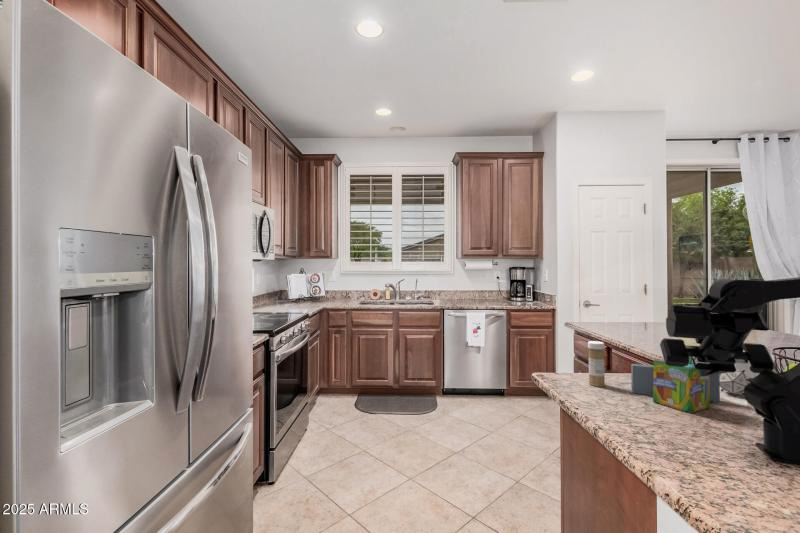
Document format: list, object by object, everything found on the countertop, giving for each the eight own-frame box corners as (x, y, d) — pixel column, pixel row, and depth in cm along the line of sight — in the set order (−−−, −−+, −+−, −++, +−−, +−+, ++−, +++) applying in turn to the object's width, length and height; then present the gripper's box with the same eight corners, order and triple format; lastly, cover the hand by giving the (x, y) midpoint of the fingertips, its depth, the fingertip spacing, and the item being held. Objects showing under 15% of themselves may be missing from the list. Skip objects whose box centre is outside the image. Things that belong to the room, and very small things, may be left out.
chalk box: (652, 402, 99) (651, 347, 99) (672, 397, 103) (671, 344, 103) (691, 414, 90) (690, 355, 91) (711, 408, 94) (710, 351, 94)
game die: (742, 409, 103) (768, 387, 97) (710, 396, 105) (734, 375, 99) (730, 385, 110) (754, 364, 104) (700, 374, 112) (723, 353, 106)
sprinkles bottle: (603, 383, 115) (603, 341, 115) (605, 388, 111) (605, 343, 111) (587, 382, 117) (587, 340, 117) (589, 386, 113) (588, 342, 113)
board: (719, 402, 98) (719, 372, 98) (633, 393, 106) (632, 365, 106) (716, 399, 100) (715, 370, 100) (631, 390, 108) (631, 363, 108)
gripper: (766, 307, 77) (738, 348, 88) (662, 303, 84) (647, 342, 94) (791, 352, 70) (757, 391, 80) (675, 344, 76) (658, 382, 87)
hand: (701, 374), depth 86 cm, fingers closed
